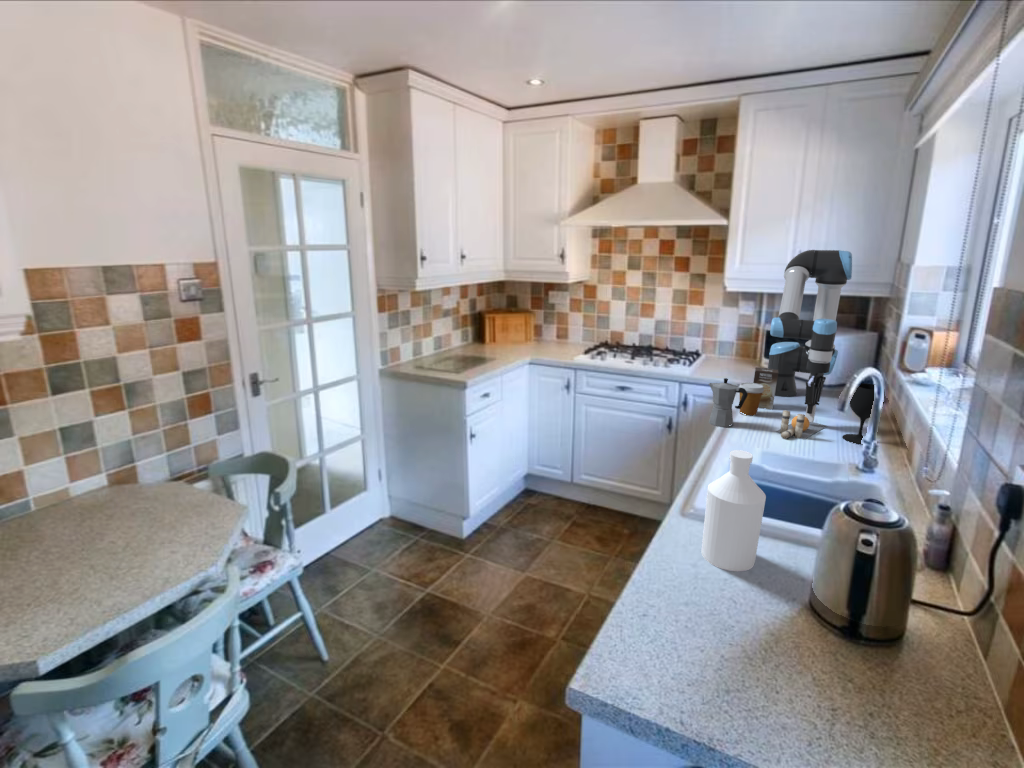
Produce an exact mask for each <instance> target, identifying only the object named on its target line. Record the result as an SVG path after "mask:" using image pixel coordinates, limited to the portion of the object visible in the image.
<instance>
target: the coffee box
mask: <svg viewBox="0 0 1024 768" xmlns="http://www.w3.org/2000/svg"><path fill="white" fill-rule="evenodd" d="M777 378H778V370H774V369H768V368H767V367H766V368H764V367H758V366H757V367H755V368H754V374H753V380H752V383H756V384H760V385H762V386H763V389H764V391H763V392H762V396H761V399H760V403H759V406H758V409H764V408H766V409H765V410H771V409H772V410H773V409H774V408H773V407H774V401H775V396H776V395H775V390H776V384H777Z"/></svg>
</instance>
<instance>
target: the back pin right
mask: <svg viewBox="0 0 1024 768" xmlns="http://www.w3.org/2000/svg"><path fill="white" fill-rule="evenodd" d="M790 418H791V411H790V410H786V409H785V410H784V409H783V411H782V414H781V423H780V429H779V430H780V433H779V434H781V433H783V432H784V431H787V430H788V425H789V423H790Z"/></svg>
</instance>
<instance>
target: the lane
mask: <svg viewBox="0 0 1024 768" xmlns="http://www.w3.org/2000/svg"><path fill="white" fill-rule="evenodd" d="M827 427H828V425H826V424H822V423H818V422H815V421H813V422H810V425H809V427H808V429H806V430H805V431H802V437H801V438H799V439H801V440H806V439H807V438H809V437H812V436H813V435H814V434H816V433H818V432H820V431H821V430H823V429H825V428H827ZM791 428H793V427H792V424H791V423H790V424H788V430H789V429H791ZM775 433H778V434H781V433H780V429H777V430H776V431H775ZM791 437H794V435H792V436H791ZM794 438H795V437H794Z"/></svg>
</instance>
